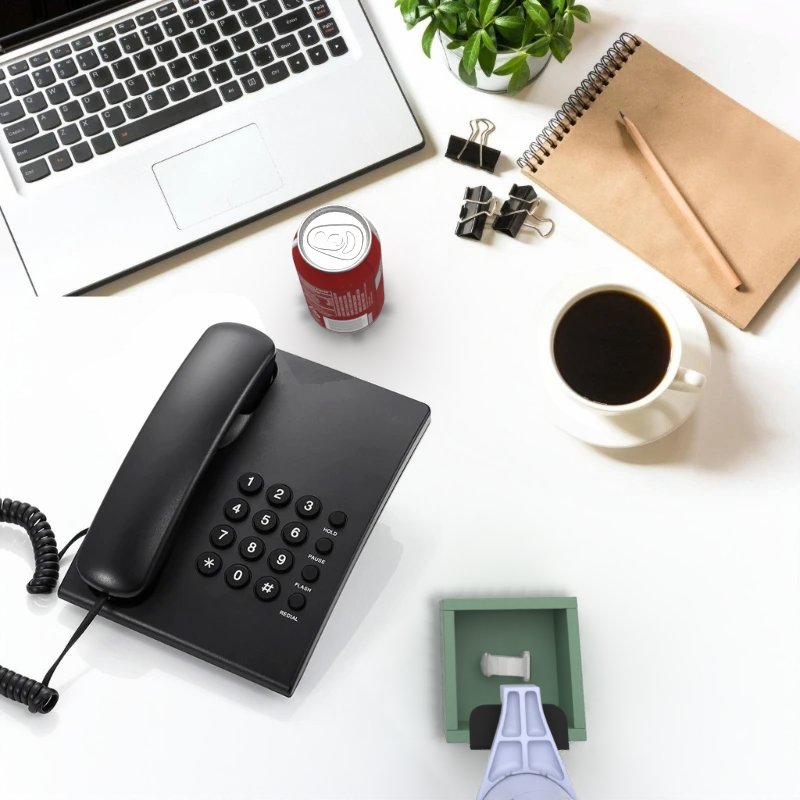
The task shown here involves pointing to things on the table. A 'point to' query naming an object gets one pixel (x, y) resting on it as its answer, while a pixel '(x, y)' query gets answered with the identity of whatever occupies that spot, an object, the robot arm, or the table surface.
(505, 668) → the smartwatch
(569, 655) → the bin
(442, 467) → the table surface
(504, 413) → the table surface
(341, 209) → the soda can
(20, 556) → the table surface
